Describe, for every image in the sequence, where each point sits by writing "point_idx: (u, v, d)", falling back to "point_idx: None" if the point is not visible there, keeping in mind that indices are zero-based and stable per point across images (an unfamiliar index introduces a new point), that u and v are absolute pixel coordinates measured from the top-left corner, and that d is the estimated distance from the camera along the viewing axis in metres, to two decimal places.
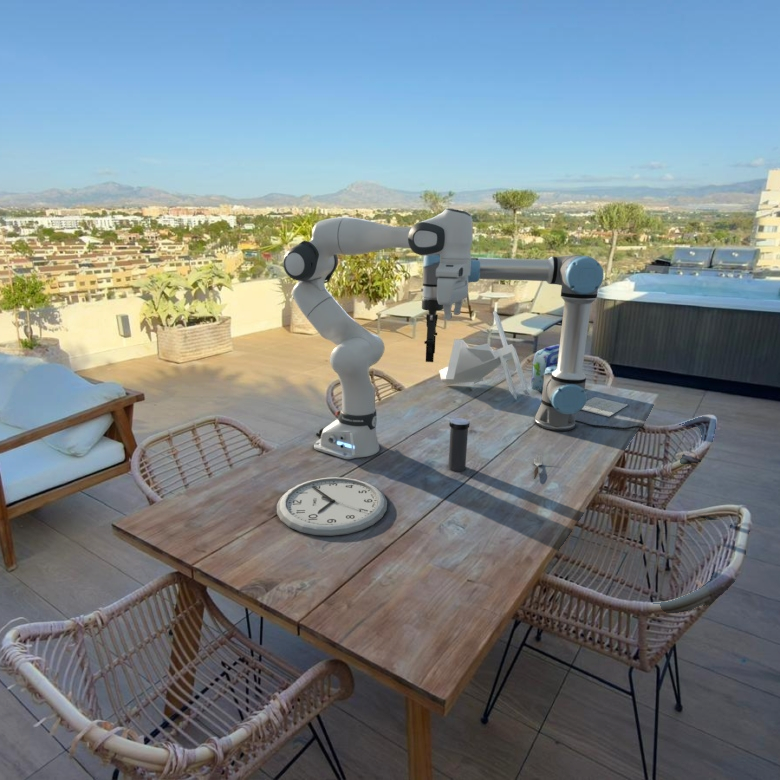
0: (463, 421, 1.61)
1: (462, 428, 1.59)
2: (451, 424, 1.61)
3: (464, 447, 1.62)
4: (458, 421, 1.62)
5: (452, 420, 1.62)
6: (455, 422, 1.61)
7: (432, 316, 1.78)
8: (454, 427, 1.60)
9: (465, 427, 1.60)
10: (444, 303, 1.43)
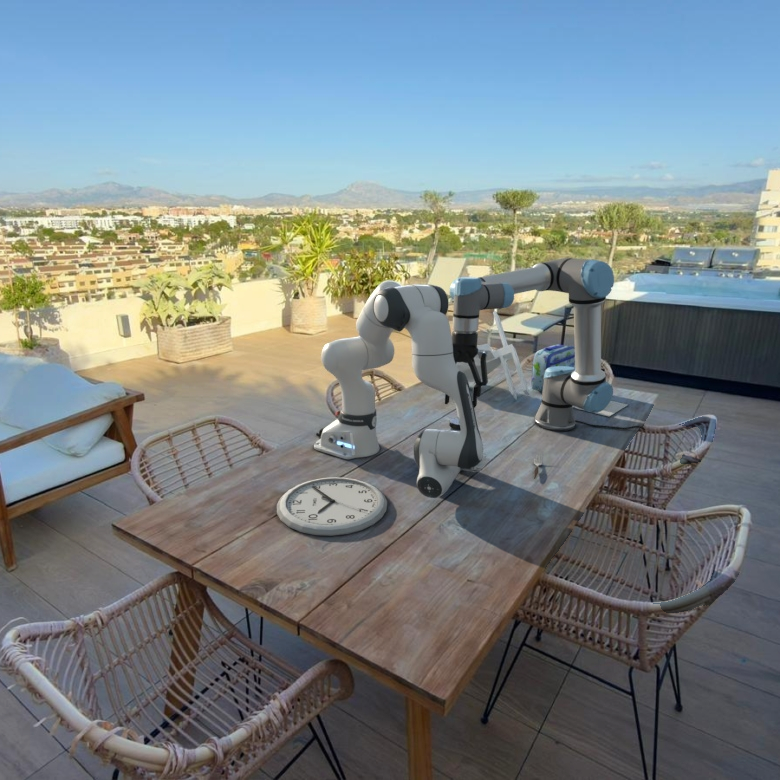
0: None
1: None
2: (451, 424, 1.61)
3: None
4: (458, 421, 1.62)
5: (452, 420, 1.62)
6: (455, 422, 1.61)
7: None
8: (454, 427, 1.60)
9: None
10: None
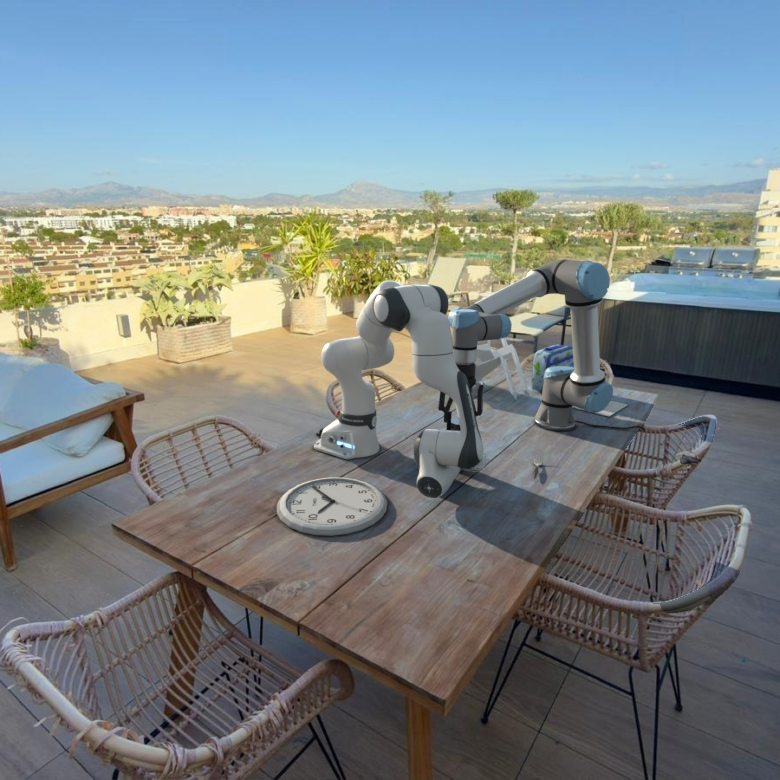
0: None
1: None
2: (451, 424, 1.61)
3: None
4: (458, 421, 1.62)
5: (452, 420, 1.62)
6: (455, 422, 1.61)
7: None
8: (454, 427, 1.60)
9: None
10: None
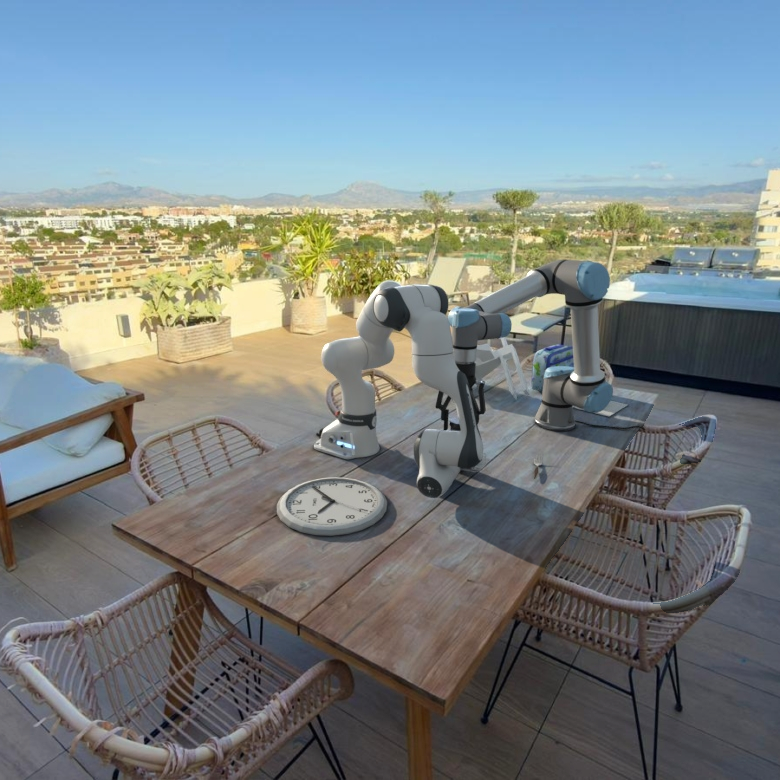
0: None
1: None
2: None
3: None
4: None
5: (456, 422, 1.60)
6: None
7: None
8: None
9: None
10: None
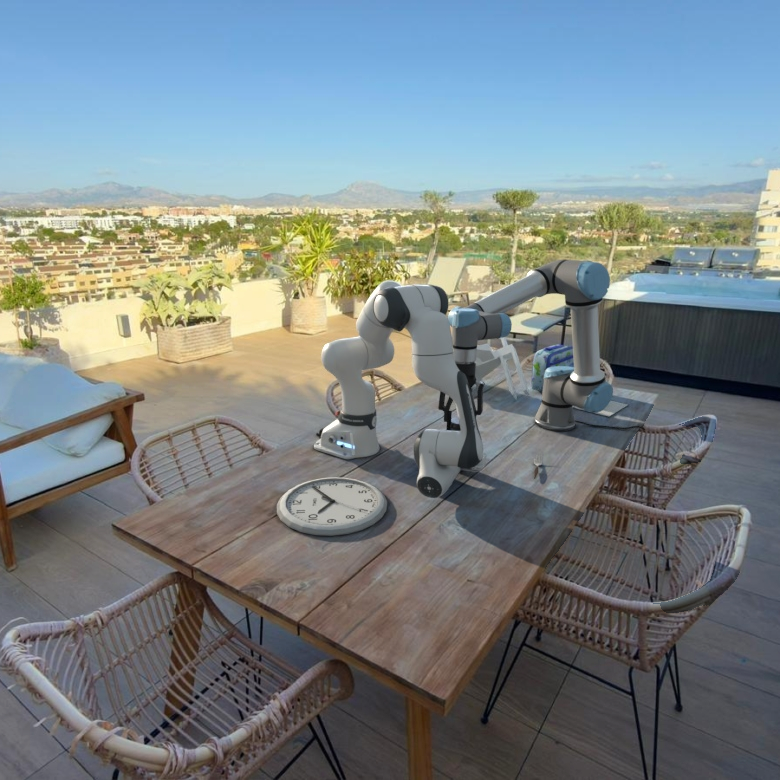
0: None
1: None
2: None
3: None
4: None
5: (456, 422, 1.60)
6: None
7: None
8: None
9: None
10: None
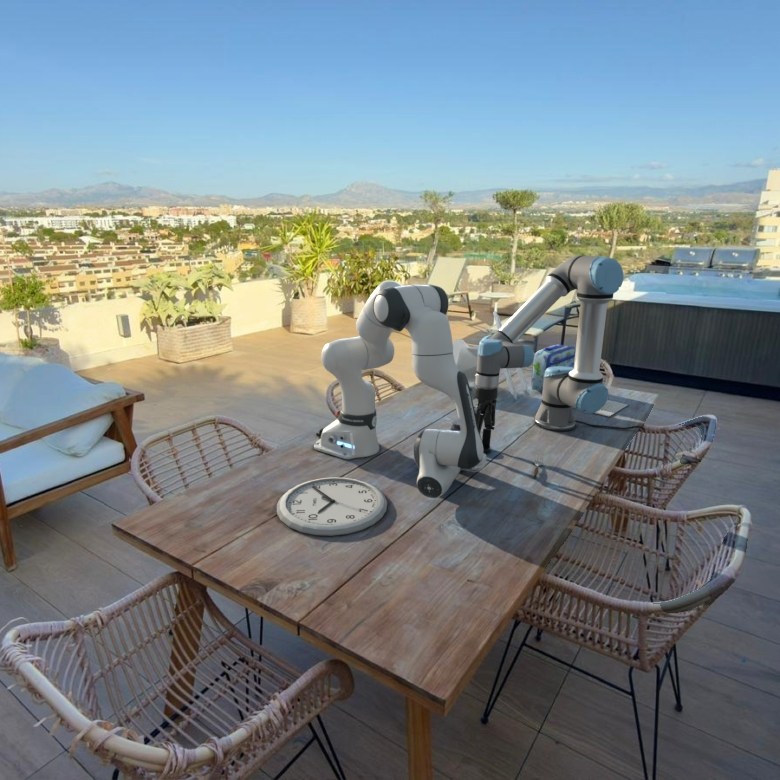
0: None
1: None
2: (489, 448, 1.79)
3: None
4: None
5: (486, 448, 1.77)
6: (486, 446, 1.79)
7: (476, 409, 1.69)
8: None
9: None
10: None
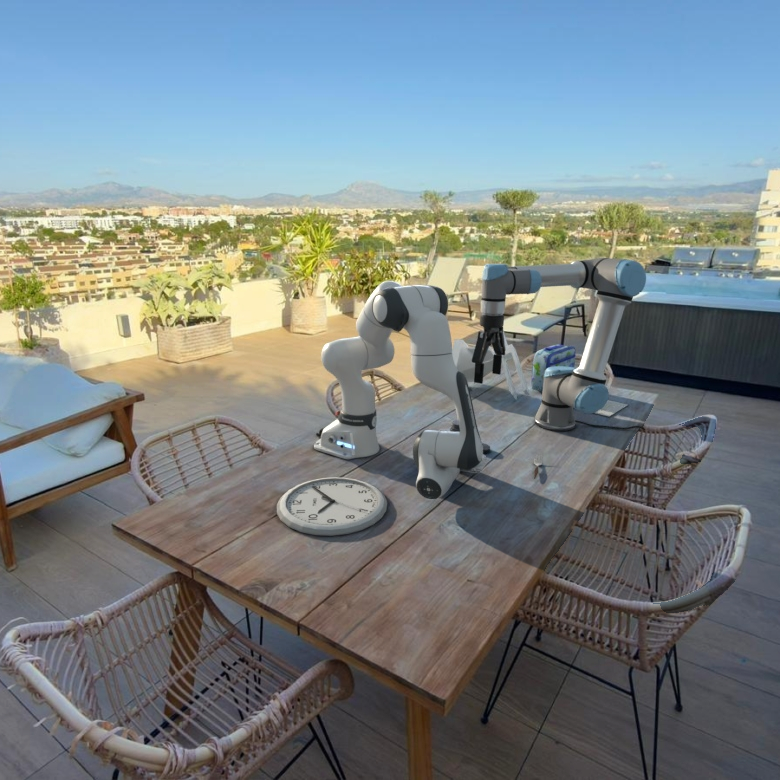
0: None
1: None
2: (489, 448, 1.79)
3: None
4: None
5: (486, 448, 1.77)
6: (486, 446, 1.79)
7: (482, 333, 1.62)
8: None
9: None
10: None
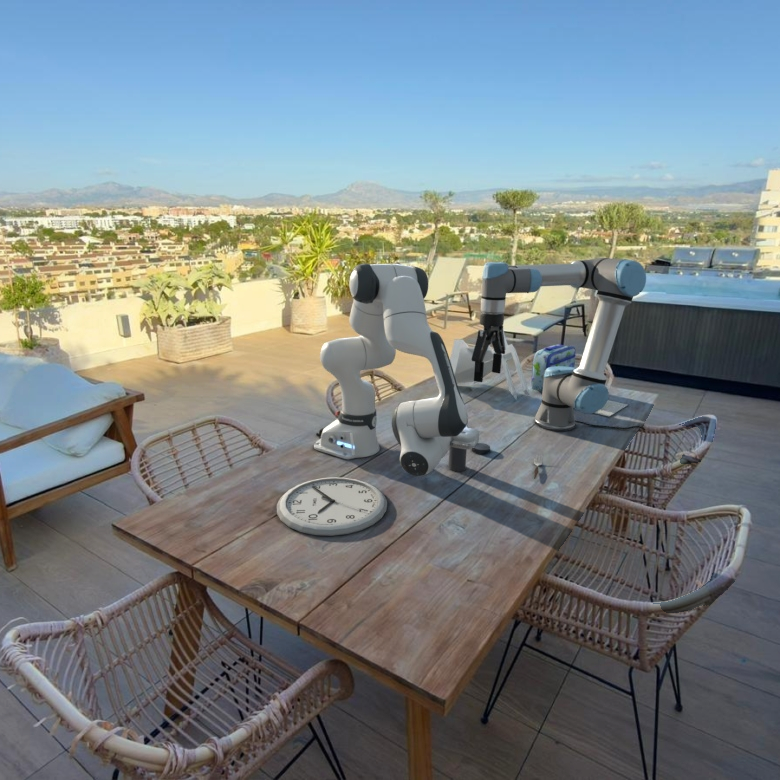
0: (478, 445, 1.80)
1: None
2: (489, 448, 1.79)
3: None
4: (482, 446, 1.79)
5: (486, 448, 1.77)
6: (486, 446, 1.79)
7: (482, 332, 1.62)
8: None
9: None
10: None
